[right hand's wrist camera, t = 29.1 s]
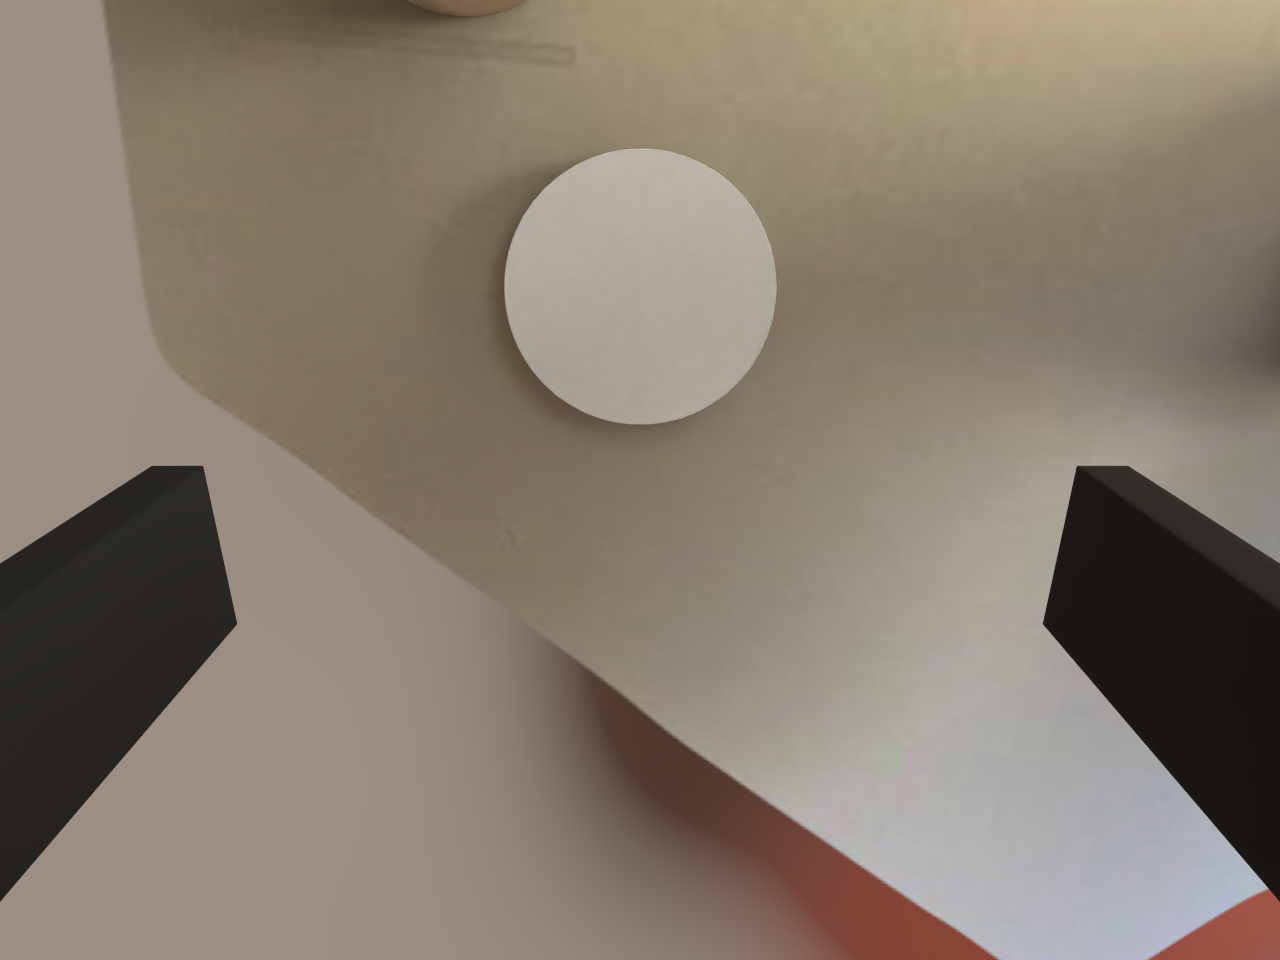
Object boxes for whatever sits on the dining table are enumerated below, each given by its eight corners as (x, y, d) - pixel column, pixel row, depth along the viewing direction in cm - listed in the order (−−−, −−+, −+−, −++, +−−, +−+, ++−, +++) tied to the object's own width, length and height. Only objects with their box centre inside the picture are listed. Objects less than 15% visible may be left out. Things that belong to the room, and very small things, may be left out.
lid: (546, 434, 39) (541, 447, 37) (479, 181, 35) (470, 182, 33) (787, 386, 38) (793, 397, 36) (748, 120, 34) (754, 119, 32)
